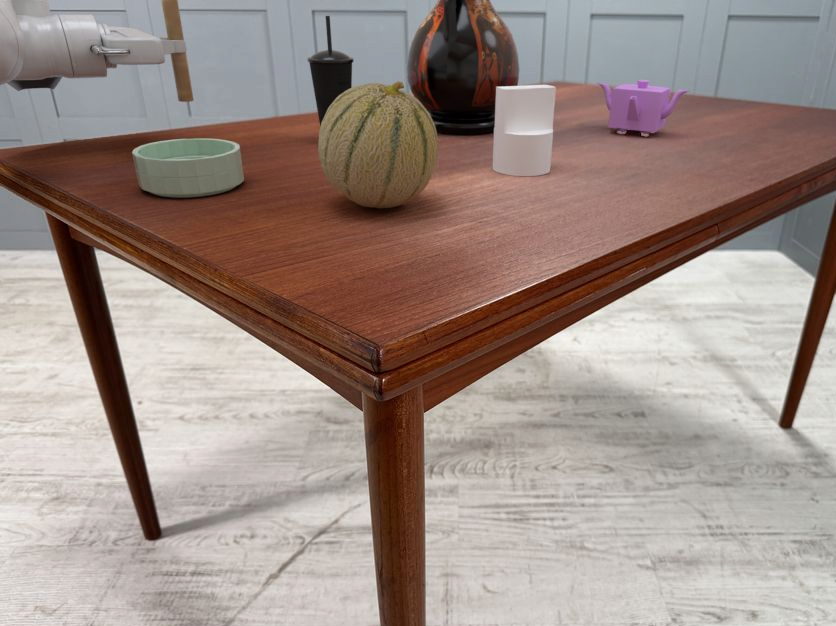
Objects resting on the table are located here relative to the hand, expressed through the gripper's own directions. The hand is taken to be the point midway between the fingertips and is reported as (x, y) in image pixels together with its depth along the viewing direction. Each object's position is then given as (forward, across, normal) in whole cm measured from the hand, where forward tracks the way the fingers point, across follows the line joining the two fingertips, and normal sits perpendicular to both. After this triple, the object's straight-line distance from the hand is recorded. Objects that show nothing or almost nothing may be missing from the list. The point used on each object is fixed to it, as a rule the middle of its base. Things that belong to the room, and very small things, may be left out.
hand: (182, 44), depth 108 cm
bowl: (-7, -28, +15) cm, 33 cm away
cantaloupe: (+11, -49, +15) cm, 52 cm away
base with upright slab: (+39, -42, +15) cm, 59 cm away
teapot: (+76, -29, +15) cm, 83 cm away
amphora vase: (+49, -9, +15) cm, 52 cm away
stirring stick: (-1, 0, +9) cm, 9 cm away
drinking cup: (+21, -10, +16) cm, 28 cm away
